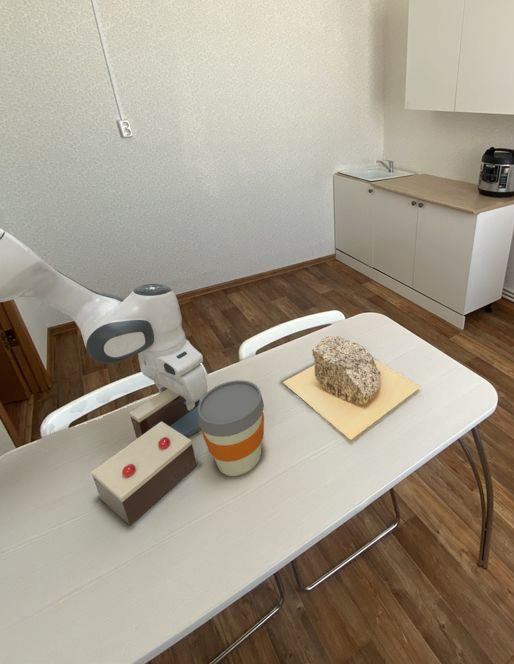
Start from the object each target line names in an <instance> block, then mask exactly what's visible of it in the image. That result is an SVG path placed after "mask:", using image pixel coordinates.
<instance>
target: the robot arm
mask: <svg viewBox="0 0 514 664" xmlns="http://www.w3.org/2000/svg"><path fill="white" fill-rule="evenodd" d="M18 298H30V299H34V300H36V301H38V302H41V303H42V304H44V305H47V306H49V307H50V308H52V309H54V310H57V311H58V312H61V313H63V314H64V315H67V316H68V317H70V318H71V319H72V320H73V322H74V323H75V324H76V326H77V328H78V329H79V332H80V334H81V336H82V340H83V343H84V347H85V350H86V353H87V355H88V357H89V358H91V359H92V360H93V361H95V362H97V363H99V364H104V365H110V364H111V365H112V364H117V363H120V362H124V361H126V360H128V359H130V358H133V357H134V356H136V355H138V364H139V369H140V372H141V373H142V375H143V376H144V377H146V378H148V379H149V380H151V381H153V383H154V385H155V386H156V388H157V389H158V392H159V393H158V394H160V393H161V392H163V391H164V390H166V389H169V390H171V391H173V392H175V393H176V394H178V395H180V396H182V397H183V398H185V400H186V402H184V408H186V409H187V410H189V411H190V410H191V409H193V408H194V407H195V402H196V401H198V400H199V399H201V398H202V397H203V396H204V395H205V394H206V393H207V392H208V383H207V377H206V372H205V369H204V367H203V365H202V363H203V362H204V357H203V354H202V353H201V352H200V351H199V350H198V349H196V348H195V347H194V346H193V345H192V344H191V342H190V341H189V340H188V339H187V337H186V332H185V330H184V328H183V326H182V324H183V323H182V322H183V317H182V311H181V308H180V304H179V301H178V298H177V296H176V293H175V292H174V290H173V289H172V288H171V287H169V286H167V285H166V284H161V283H145V284H142V285H138V286H136V287H134V288H133V289H132V290H131V292H130V294H129V295H127V297H126V298H125V299H124V298H122V297H120V296H118V295H115V294H110V293H105V292H99V291H95V290H93V289H90V288H88V287H87V286H85V285H83V284H81V283H80V282H77V280H74V279H73V278H71V277H69V276H67V275H66V274H64V273H62V272H60V271H59V270H57V269H56V268H54V267H52V266H51V265H50V264H49V263H47V262H46V261H45V260H44V259H43V258H42V257H41V256H39V255H38V254H37V253H36V252H35V251H34V250H32V249H31V248H30V247H29V246H28V245H26V244H25V243H24V242H23V241H21V240H19V239H18V238H17V237H15V236H14V235H13V234H11V233H10V232H7V231H6V230H4V229H3V228H1V227H0V303H5V302H9V301H12V300H15V299H18Z"/></svg>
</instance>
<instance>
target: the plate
mask: <svg viewBox="0 0 514 664" xmlns="http://www.w3.org/2000/svg"><path fill="white" fill-rule="evenodd" d="M201 399H202V398H201ZM201 399H199V400H200V401H201ZM170 427H171V428H173V429H174V430H176V431H177V432H179V433H181V434H182V435H184V436H185V437H187V438H188V437H191V436H193V435H194V434H196V433H198V432H199V431H201V430H202V429H201V428H200V426H199V420H198V406H197V407H196V408H194V409H193V410H191V411H190V412H189V413H187V414H186V415H184V416H183V417H182V418H180V419H179V420H178V421H176V422H175V423H173V424H172V425H171V426H170Z"/></svg>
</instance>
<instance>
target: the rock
mask: <svg viewBox="0 0 514 664" xmlns="http://www.w3.org/2000/svg"><path fill="white" fill-rule="evenodd" d="M311 353H312V357H313V361H314V364H313V365H311V366H309V367H308V368H305V369H304V370H303V371H300V372H299V373H297V374H295V375H293V376H291V377H289V378H287V379H286V380H284V381H283V382H282V384H284V385H285V386H286V387H288V388H289V389H290V390H291V391H292V392H293V393H294V394H296V395H297V396H298V397H299V398H300V399H301V400H303V401H304V402H306V404H308V405H309V406H310V407H311V408H312V409H313V410H314V411H316V412H317V413H318V414H319V415H320V416H321V417H323V419H325V420H326V421H327V422H328V423H330V424H331V425H332V426H333V427H334V428H335V429H337V430H338V431H339V432H340V433H342V434H343V435H344V436H345V437H346V438H347V439H348V440H350V441H351V440H353V439H355V438H356V437H357V436H358V435H359V434H361V433H362V432H363V431H365V430H366V429H368V428H369V427H370V426H371V425H373V424H374V423H375V422H376V421H378V420H379V419H381V418H382V417H384V416H385V415H386V414H387V413H389V412H390V411H391V410H392V409H394V408H395V407H397V406H398V405H399V404H400V403H402V402H403V401H404V400H406V399H407V398H408V397H410V396H411V395H412V394H414V393H415V392H416V391H417V390H419V389H420V388H421V387H422V386H421V385H419V384H417V383H415V382H414V381H412V380H411V379H408V378H407V377H405V376H403V375H402V374H400V373H398V372H397V371H395V370H393V369H392V368H390V367H388V366H386V365H384V364H383V363H382V362H380V361H378V360H376V359H374V357H373V356H372V354H371V353H370V352H369V351H368V350H367V349H366V348H365V347H364V346H363V345H360V344H359V343H357V342H354V341H350V340H345V338H343V337H341V336H337V335H335V336H331V335H327V336H326V337H324V338H322V339H321V340H320V341H319V342H318V344H316V345H315V346H314V347H313V348H312V349H311Z"/></svg>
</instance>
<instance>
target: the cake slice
mask: <svg viewBox="0 0 514 664" xmlns="http://www.w3.org/2000/svg"><path fill="white" fill-rule="evenodd" d="M184 402H186V400H185V398H183V397H182V396H180V395H178V394H176V393H175V392H173V391H171V390H169V389H166V390H164V391H163V392H161V393H158V394H157V395H154V396H153V397H152V398H150V399H148V400H147V401H145V402H144V403H142V404H141V405H140V406H138V407H136V408H135V409H132V411H129V417H130V421H131V424H132V428H133V431H134V433H135V438H136V439H138V438H139V437H140V436H142V435H143V434H144V433H146V432H147V431H149V430H150V429H151V428H153V427H154V426H156V425H157V424H158V423H160V422H161V421H162V422H163V423H165V424H166V425H168V426H171V425H172V424H173V423H175V422H176V421H178V420H179V419H180V418H182V417H183V416H184V415H186V414H187V413H189V412H190V411H191V410H193V409H194V408H196V407H197V406H198V405H199V402H200V400H198V401H196V402H195V407H194V408H193V409H191V410H190V411H189V410H187V409H186V408H184Z"/></svg>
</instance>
